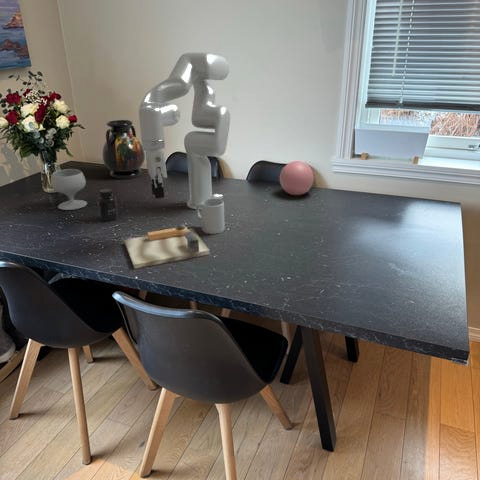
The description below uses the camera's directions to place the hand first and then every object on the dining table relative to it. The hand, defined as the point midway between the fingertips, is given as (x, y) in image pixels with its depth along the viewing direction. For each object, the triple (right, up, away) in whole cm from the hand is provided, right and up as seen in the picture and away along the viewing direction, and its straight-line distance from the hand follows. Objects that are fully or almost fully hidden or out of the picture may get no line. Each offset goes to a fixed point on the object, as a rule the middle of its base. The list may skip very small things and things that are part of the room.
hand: (158, 195), depth 152 cm
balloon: (+56, +6, +48) cm, 74 cm away
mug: (+18, -12, +11) cm, 24 cm away
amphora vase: (-32, +19, +77) cm, 86 cm away
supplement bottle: (-24, -7, +21) cm, 33 cm away
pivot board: (+4, -19, -4) cm, 20 cm away
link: (+3, -14, +1) cm, 15 cm away
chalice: (-44, -1, +35) cm, 57 cm away
